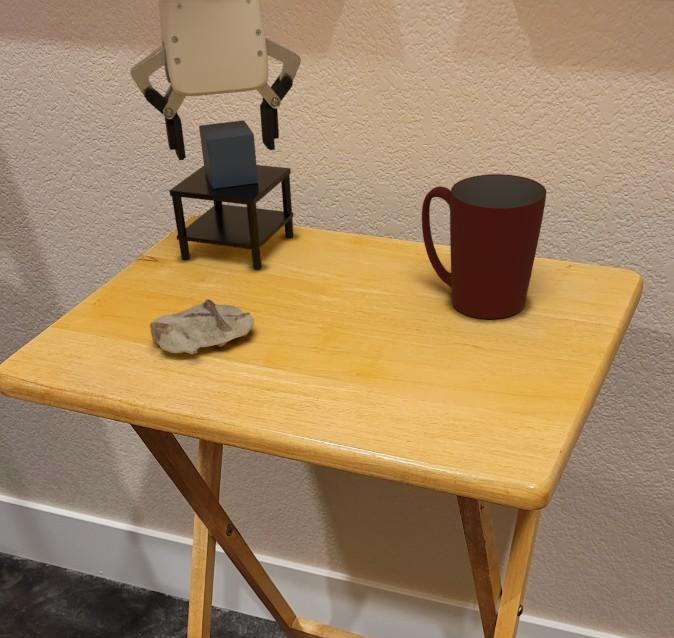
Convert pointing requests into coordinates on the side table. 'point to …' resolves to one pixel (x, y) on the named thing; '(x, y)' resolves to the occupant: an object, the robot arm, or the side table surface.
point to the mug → (489, 241)
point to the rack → (234, 212)
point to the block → (229, 154)
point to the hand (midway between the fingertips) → (225, 151)
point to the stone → (200, 327)
